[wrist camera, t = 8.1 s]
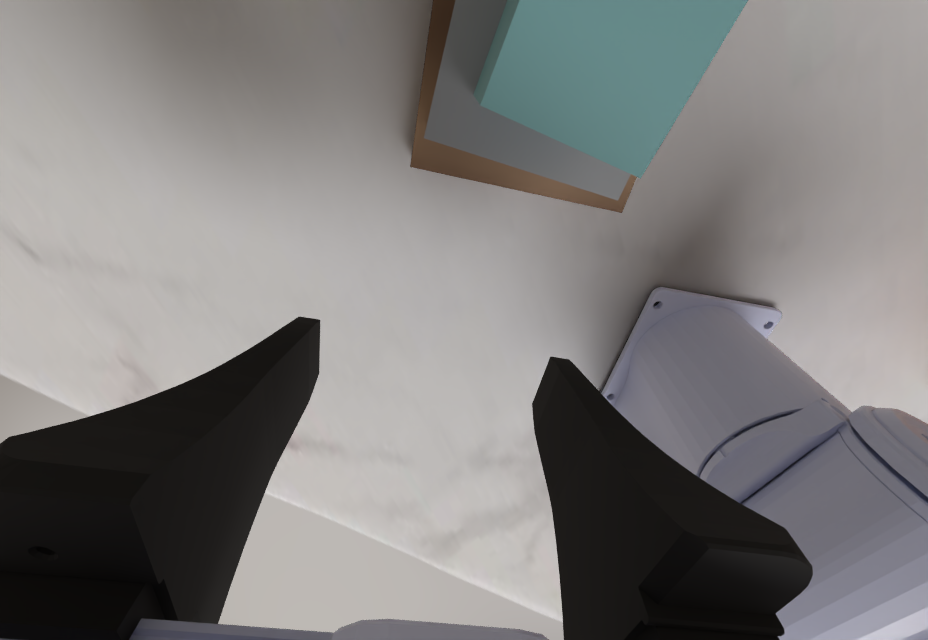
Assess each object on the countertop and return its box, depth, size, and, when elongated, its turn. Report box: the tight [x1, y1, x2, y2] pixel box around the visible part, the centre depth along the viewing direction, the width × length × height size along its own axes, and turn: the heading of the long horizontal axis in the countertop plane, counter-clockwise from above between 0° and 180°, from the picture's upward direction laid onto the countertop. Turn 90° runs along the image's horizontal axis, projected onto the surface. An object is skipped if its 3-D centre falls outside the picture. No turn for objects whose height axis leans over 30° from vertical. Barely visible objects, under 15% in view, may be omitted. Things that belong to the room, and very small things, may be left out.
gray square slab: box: [424, 0, 631, 200], centre depth 15 cm, size 8×8×2 cm
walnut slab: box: [410, 0, 637, 213], centre depth 17 cm, size 10×10×2 cm
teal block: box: [473, 0, 748, 179], centre depth 11 cm, size 4×4×6 cm
